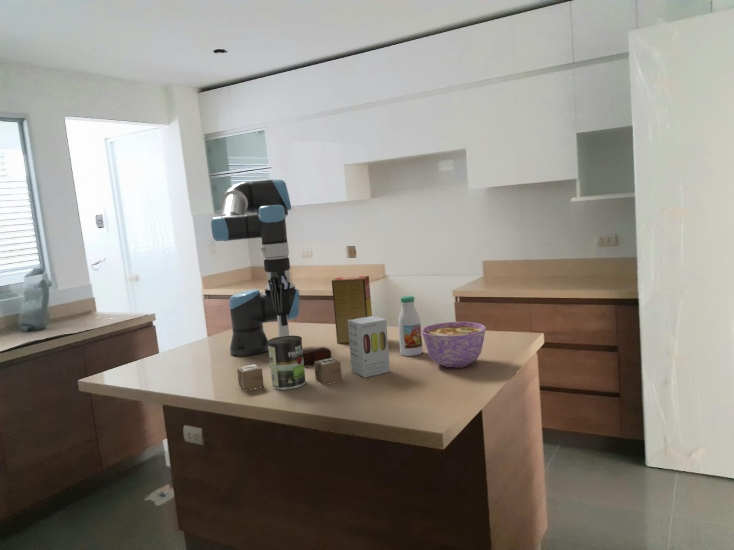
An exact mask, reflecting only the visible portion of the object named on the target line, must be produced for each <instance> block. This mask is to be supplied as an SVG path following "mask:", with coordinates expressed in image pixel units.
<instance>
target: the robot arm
mask: <svg viewBox="0 0 734 550" xmlns="http://www.w3.org/2000/svg"><path fill="white" fill-rule="evenodd" d="M220 207H221V213H220V215H218V216H214V217H212V218H211V222H210V226H211V227H210V228H211V233H212V238H213V240H214V241H215V242H228V241H236V240H237V241H239V240H247V239H261V244H262V245H261V248H260V252H262V254H263V255H262V257H263V258H264V260H263V267H264V269H263V270H264V272H265V273H266V274H267V285H266V286H265V287H264V292H261V291H260V290H259V289H258V288H257V289H249V290H244V291H242V292H238V293H235V294H233V295H231V296H230V298H229V308H228V309H229V311H230V319H231V328H232V329H231V330H232V337H231V341H230V345H229V354H230V355H231V356H234V355H236V357H245V356H246V357H247V356H254V355H260V354H262V353H266V352H269V348H268V343H267V341H268V340H269V339H268V337H267V335H266V333H265V331H264V324H265V323H273V322H277V329H278V337H283V336H290V330H289V321H290V320H295V319H297V318H298V317H299V312H300V289H298V288H296V284H295V283H294V282H292V281H291V274H290V271H291V270H290V269H291V263H290V258H289V255H290V250H289V243H288V237H287V221H286V218H287V217H288V216H289V211H291V210H292V204H291V200H290V195H289V191H288V187H287V183H286V182H285V181H284V180H283V179H266V180H265V179H264V180H253V181H241V182H239V183H236V184H234V185H232V186H231V187H229V188H228V189H226V190H225V191H224V192H223V193H222V195H221V199H220Z"/></svg>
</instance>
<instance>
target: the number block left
mask: <svg viewBox="0 0 734 550" xmlns="http://www.w3.org/2000/svg"><path fill="white" fill-rule="evenodd" d="M236 369H237V371H236V372H237V380H238V387H239V386H240V387H241V388H242V389H243V390H244V391H245V390H250V389H254V388H258V389H261V388H260V387H263V388H264V387H265V384H264V376H263V368H262V367H261V366H259V365H258V363H254V364H250V365H245V366H240V367H237V368H236ZM240 387H239V388H240ZM241 388H240V389H241ZM242 389H241V390H242ZM243 390H242V391H243ZM254 390H255V389H254ZM244 391H243V392H244ZM250 391H251V390H250ZM245 392H246V391H245Z"/></svg>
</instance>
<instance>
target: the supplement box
mask: <svg viewBox="0 0 734 550" xmlns="http://www.w3.org/2000/svg"><path fill="white" fill-rule="evenodd" d="M348 330H349V343H348V344H349V352H350V353H349V354H350V367H351V368H350V369H351V372H353V374H356V375H358V376H361V377H362V378H365V379H366V378H368V377H373V376H378V375H382V373H383V374H386V373H387V372H388V373H390V372H391V370H390V355H389V341H388V326H387V319H385V318H382V317H378V316H374V315H372V316H370V317H364V318H358V319H352V320H348ZM388 373H387V374H388Z"/></svg>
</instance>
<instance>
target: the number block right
mask: <svg viewBox="0 0 734 550" xmlns="http://www.w3.org/2000/svg"><path fill="white" fill-rule="evenodd" d="M341 365H342V364H341V361H340V360H337V359H336V358H333V357H331V358H329V359H325V360H320V361H315V362H314V373H315V374H314V375H315V381H316V380H317V381H316V382H318V383H319V382H320V384H321V385H323V386H326V385H330V384H329V383H331V384H334V382H335V383H338V381H339V382H342V381H343V376H342V368H341ZM325 384H326V385H325Z"/></svg>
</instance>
